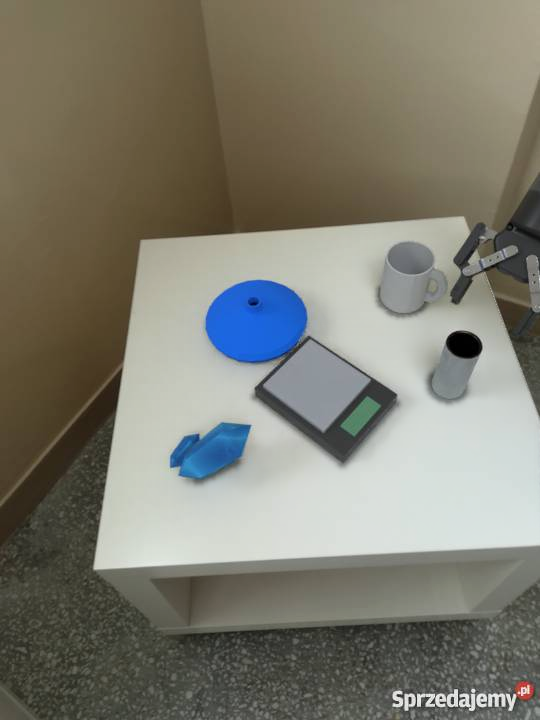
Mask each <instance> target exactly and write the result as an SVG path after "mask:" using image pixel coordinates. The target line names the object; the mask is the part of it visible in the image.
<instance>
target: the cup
mask: <svg viewBox="0 0 540 720" xmlns="http://www.w3.org/2000/svg"><path fill="white" fill-rule="evenodd" d="M436 258H437V257H436V255H435V253H434V251H433V250H432V249H431V247H430V246H428V245H427V244H425V243H423V242H420V241H418V240H417V241H416V240H401V241H397V242H396V243H394V244H392V245H391V246H389V248H388V249H387V251H386V253H385V257H384V264H383V270H382V277H381V283H380V290H379V297H380V301H381V302H382V304H383V305H384V307H386V308H387V309H388V310H389V311H391V312H394V313H398V314H410V313H414V312H416V311H418V310H419V309H421V308H422V307H423V305H424V304H425V303H429V304H434V303H438V302H440V301H441V300H442V299H444V298H445V297H446V296H447V292H448V289H449V281H448V278H447V275H446V274H445V273H444V272H443V271H441V269H437V268H435V265H436V262H437V260H436ZM431 280H432V281H434V282H435V283H436V289H435V290H434V292H431V291H429V289H430V288H429V287H430V283H431Z"/></svg>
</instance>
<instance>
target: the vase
mask: <svg viewBox="0 0 540 720" xmlns="http://www.w3.org/2000/svg"><path fill="white" fill-rule="evenodd" d="M307 324H308V312H307V307H306V305H305V303H304V301H303V300H302V298H301V297H300V296H299V295H298V294H297V292H296V291H294V290H293V289H291V288H290V287H288V286H286V285H285V284H283V283H279V282H276V281H273V280H265V279H252V280H245V281H243V282H238V283H236V284H234V285H232V286H230V287H228V288H226V289H224V290H223V291H222V292H221V293H220V294H219V295H217V296H216V297H215V298H214V300H213V301H212V303H211V304H210V305H209V307H208V309H207V311H206V315H205V331H206V334H207V337H208V340H209V341H210V342H211V344H212V345H213V346H214V348H215V349H216V350H217V351H219V352H220V353H221V354H223V355H224V356H225V357H227V358H228V359H231V360H234V361H237V362H240V363H245V364H263V363H268V362H271V361H274V360H277V359H280V358H281V357H283V356H285V355H286V354H288V353H290V352H291V351H292V350H293V349H294V348H295V347H296V346H297V345H298V343H299V341H300V340H301V338H302V337H303V334H304V333H305V331H306V328H307Z"/></svg>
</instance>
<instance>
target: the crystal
mask: <svg viewBox="0 0 540 720" xmlns="http://www.w3.org/2000/svg"><path fill="white" fill-rule="evenodd" d="M251 428H252V424H246V423H245V424H244V423H237V422H236V423H234V422H226V421H225V422H224V421H221V422H220V423H219V424H217V425H216V426H215V427H214V428H212V429H211V430H210V431H209V432H207V433H206V434H205V435H204V436H202V437H200V436H201V435H200V433H193V434H188V435H184V436H183V438H182V439H181V440H180V442H179V443H178V444H177V446H176V447H175V449H174V450H173V452H172V453H171V454H170V455H169V469H173V468H178V467H179V468H180V469H179V471H178V473H177V476H178V477H184V478H190V479H197V480H203V479H204V478H206V477H208V476H210V475H211V474H213V473H215V472H217V471H219V470H221V469H223V468H225V467H227V466H229V465H231V464H234V463H235V462H236V460H237V459H239V458H241V457H242V456H243V454H244V450H245V447H246V444H247V441H248V437H249V434H250V432H251Z"/></svg>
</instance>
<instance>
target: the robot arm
mask: <svg viewBox="0 0 540 720" xmlns="http://www.w3.org/2000/svg"><path fill="white" fill-rule="evenodd" d="M491 240H492V243H493V245H492V247H493V253H492V254H490V255H487V256H485V257H483V258H481V259H479V260H478V261H476V262H474V263H470V262H469V261H470V259H471V258H472V257H473V254H474V253H476V251H477V249H478V247H479V246H480V244H481V245H484V244H487V243H488V242H489V241H491ZM452 260H453V261H452V262H453V264H454V265H456V267H457V268H458V269H459V270H460V276H459V277H458V279H457V281H456V282H455V284H454V285H453V287H452V289H451V291H450V294H449V297H450V298H451V299H450V303H452V304H453V305H455V306H457V305H459V304H460V303H461V302H462V301H463V298H464V297H465V295H466V294H467V292H468V290H469V288H470V287H471V285H472V284H473V282H474V279H473V278H474V277H476V276H478V275H481V274H483V273H485V272H489V271H492V270H494V269H496V270H497V272H499V273H501V274H503V275H505V276H508V277H512V278H513V279H514V280H515V281H517V282H518V283H521V284H528V286H529V294H530V301H531V302H530V303H531V307H530V309H527V310H526V311H525V313H524V314H523V316H522V317H521V319H520V320H519V322H518V323H517V325H516V326H515V327H514V329H513V330H512V332H511V334H510V336H511V337H513V338H514V339H518V338H519V337H520V336H521V337H524V336H526V335H527V334H528V333H529V332H530V331H531V329H532V327H533V326H534V324H535V323H536V321H537V320H538V319H539V318H540V171H539V172H538V173H537V175H536V177H535V178H534V180H533V182H532V183H531V185H530V187H529V188H528V190H527V191H526V193H525V194H524V196H523V198H522V200H521V201H520V202H519V205H518V206H517V207H516V209H515V211H514V213H513V214H512V215H511V217H510V219H509V220H508V222H507V224H506V225H505V226H504V228H503V229H502V230H501V231H499V232H498V231H496V230H494V229H492V228H490V227H489V226H488V225H486V223H485V222H481V221H480V222H478V223H476V224H475V226H474V228H473V229H472V230H471V232H470V234H469V235H468V236H467V238H466V239H465V241H464V242H463V244H462V245H461V247H460V248H459V250H458V251H457V253H456V254H455V256H454V257H453V259H452Z"/></svg>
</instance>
